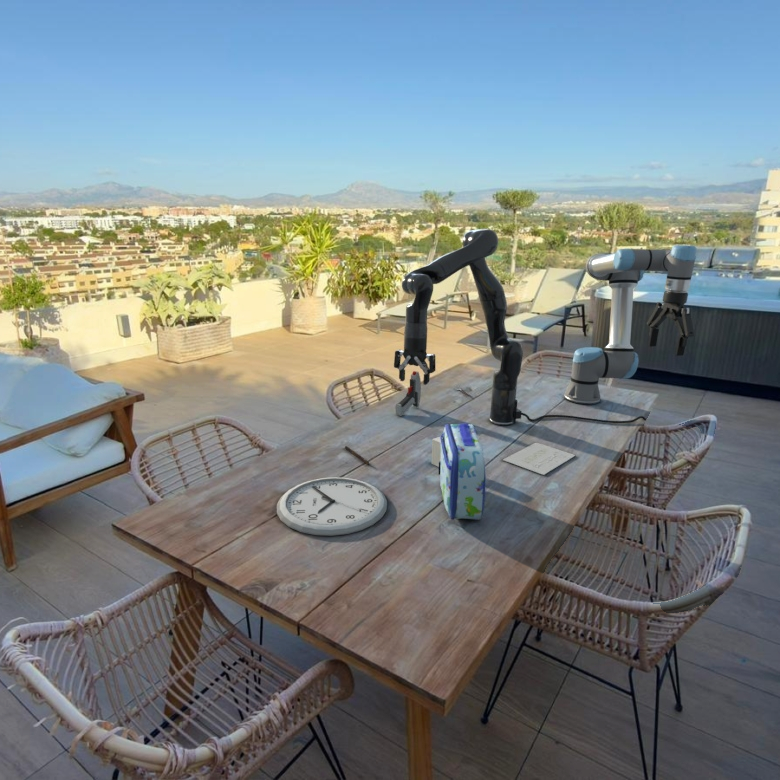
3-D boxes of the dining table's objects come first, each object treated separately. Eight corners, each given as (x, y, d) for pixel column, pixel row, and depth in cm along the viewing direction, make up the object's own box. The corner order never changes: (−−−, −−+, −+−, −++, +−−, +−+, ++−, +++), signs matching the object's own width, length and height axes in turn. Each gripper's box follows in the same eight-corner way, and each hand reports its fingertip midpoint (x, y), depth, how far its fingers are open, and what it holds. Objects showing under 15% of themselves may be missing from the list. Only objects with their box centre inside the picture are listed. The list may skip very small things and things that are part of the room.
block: (441, 460, 172) (442, 435, 169) (452, 465, 168) (453, 440, 165) (431, 463, 169) (432, 439, 167) (442, 469, 165) (443, 444, 163)
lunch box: (436, 479, 158) (439, 414, 152) (472, 480, 158) (476, 415, 152) (443, 526, 133) (448, 451, 127) (486, 527, 133) (492, 452, 127)
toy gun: (394, 379, 206) (416, 369, 217) (395, 417, 212) (416, 405, 223) (399, 380, 205) (420, 370, 216) (400, 418, 211) (421, 406, 222)
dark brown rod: (344, 448, 179) (344, 445, 179) (346, 448, 179) (346, 445, 179) (367, 464, 167) (367, 462, 167) (368, 464, 167) (368, 461, 167)
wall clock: (392, 527, 129) (268, 531, 127) (391, 533, 130) (269, 537, 127) (383, 473, 158) (282, 475, 155) (383, 478, 158) (282, 480, 156)
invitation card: (535, 442, 186) (575, 454, 176) (535, 442, 187) (575, 455, 176) (502, 459, 172) (543, 474, 162) (502, 460, 172) (543, 475, 162)
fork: (466, 397, 235) (466, 393, 234) (453, 387, 250) (453, 383, 249) (471, 397, 236) (472, 392, 235) (458, 387, 250) (458, 383, 250)
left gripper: (440, 335, 172) (437, 382, 177) (401, 331, 178) (399, 376, 183) (431, 339, 166) (429, 388, 171) (391, 334, 172) (390, 382, 177)
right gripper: (642, 286, 192) (633, 343, 199) (695, 296, 169) (682, 359, 176) (659, 286, 194) (650, 342, 201) (714, 296, 171) (701, 358, 178)
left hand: (413, 382), depth 177 cm, fingers open, 8 cm apart
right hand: (665, 350), depth 189 cm, fingers open, 13 cm apart
